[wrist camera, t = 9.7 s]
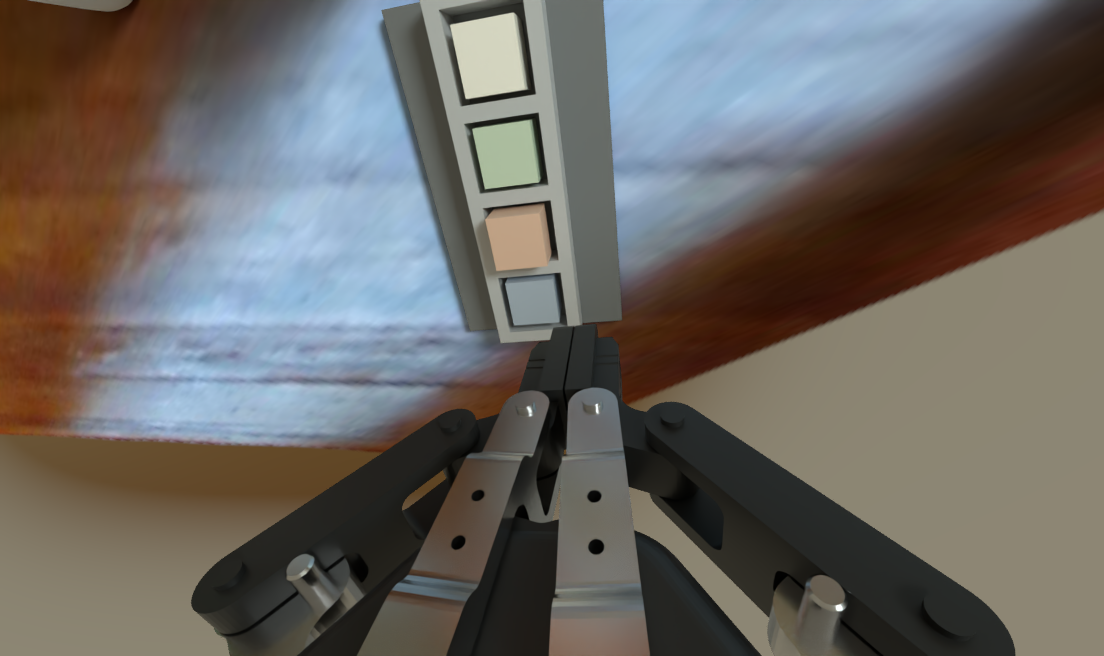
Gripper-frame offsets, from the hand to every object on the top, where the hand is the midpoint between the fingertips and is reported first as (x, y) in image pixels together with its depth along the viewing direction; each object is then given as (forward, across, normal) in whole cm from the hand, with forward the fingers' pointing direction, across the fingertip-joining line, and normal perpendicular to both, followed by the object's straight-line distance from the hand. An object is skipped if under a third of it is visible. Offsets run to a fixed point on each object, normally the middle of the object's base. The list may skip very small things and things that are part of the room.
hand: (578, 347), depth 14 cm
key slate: (+19, +6, +6) cm, 21 cm away
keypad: (+20, +6, -2) cm, 21 cm away
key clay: (+18, +6, +1) cm, 19 cm away
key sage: (+19, +6, -5) cm, 21 cm away
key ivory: (+19, +5, -10) cm, 22 cm away
